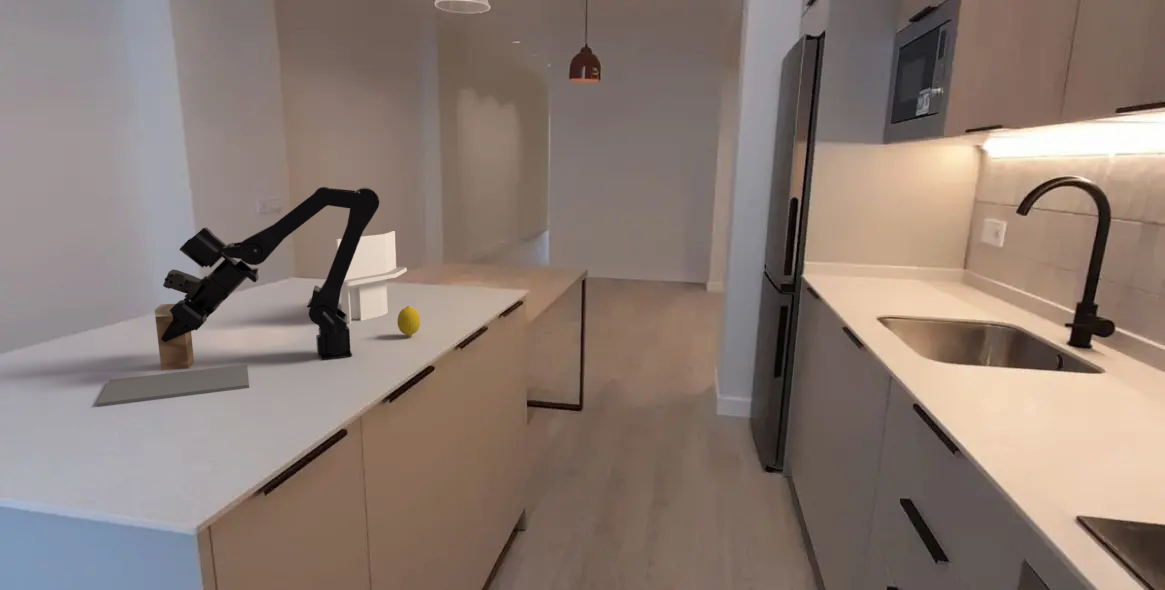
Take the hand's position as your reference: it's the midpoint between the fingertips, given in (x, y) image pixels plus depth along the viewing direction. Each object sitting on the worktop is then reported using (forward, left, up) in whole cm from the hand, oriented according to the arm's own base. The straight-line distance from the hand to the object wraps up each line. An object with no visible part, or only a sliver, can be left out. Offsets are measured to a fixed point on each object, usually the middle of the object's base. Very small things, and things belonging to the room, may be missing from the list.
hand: (167, 336), depth 136 cm
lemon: (-51, -4, -7) cm, 52 cm away
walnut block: (-1, 0, -7) cm, 7 cm away
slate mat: (-2, +14, -7) cm, 16 cm away
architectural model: (-46, -33, -7) cm, 57 cm away
